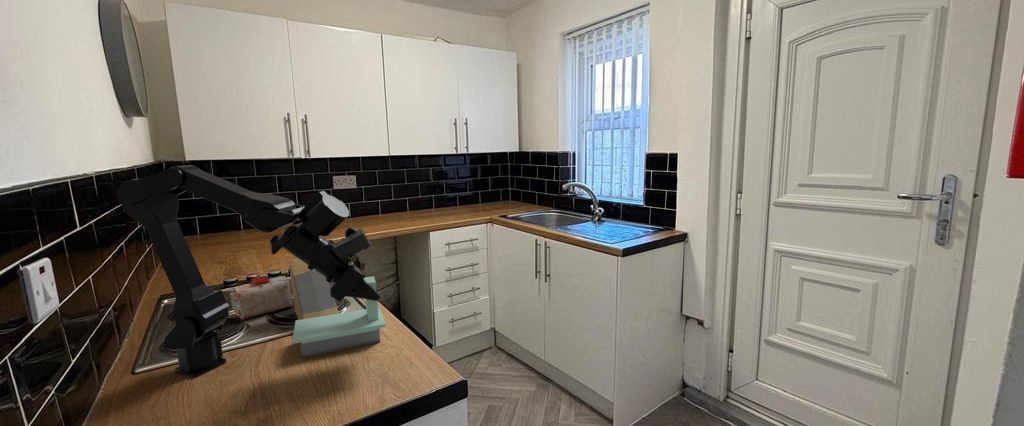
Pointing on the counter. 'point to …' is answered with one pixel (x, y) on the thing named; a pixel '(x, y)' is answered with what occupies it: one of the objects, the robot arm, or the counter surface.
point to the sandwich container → (310, 292)
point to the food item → (261, 296)
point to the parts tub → (340, 343)
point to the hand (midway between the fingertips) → (377, 295)
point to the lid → (340, 322)
